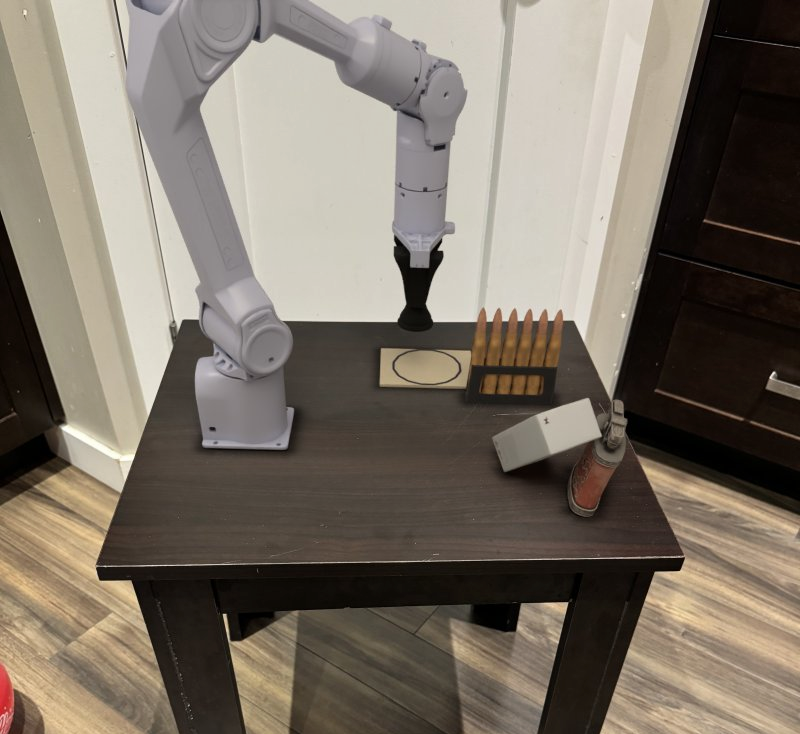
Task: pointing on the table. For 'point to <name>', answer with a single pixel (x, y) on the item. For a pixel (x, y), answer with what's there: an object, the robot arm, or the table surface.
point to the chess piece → (415, 319)
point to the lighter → (598, 461)
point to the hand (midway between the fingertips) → (415, 301)
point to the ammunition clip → (514, 361)
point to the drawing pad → (424, 368)
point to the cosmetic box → (547, 434)
